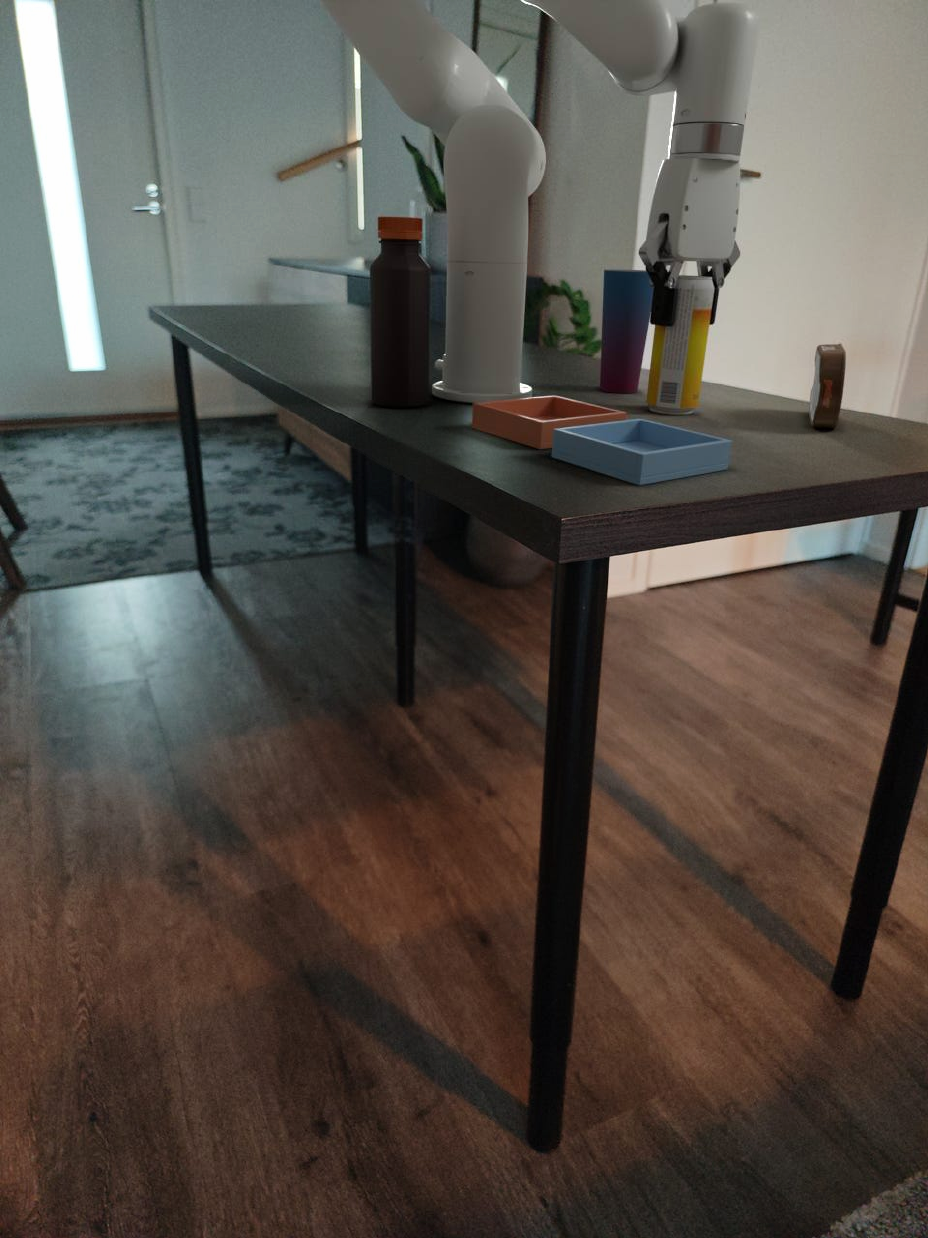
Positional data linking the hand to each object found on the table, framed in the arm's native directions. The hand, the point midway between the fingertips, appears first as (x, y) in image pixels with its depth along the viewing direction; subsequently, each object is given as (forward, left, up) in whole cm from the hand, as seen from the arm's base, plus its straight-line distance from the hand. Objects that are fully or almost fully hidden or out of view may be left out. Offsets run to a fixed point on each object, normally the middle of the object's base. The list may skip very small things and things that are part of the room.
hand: (682, 322), depth 98 cm
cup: (-14, +5, -10) cm, 18 cm away
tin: (+13, +11, -10) cm, 20 cm away
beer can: (0, 0, -10) cm, 10 cm away
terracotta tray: (+3, -22, -10) cm, 24 cm away
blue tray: (+17, -23, -10) cm, 30 cm away
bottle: (-18, -27, -10) cm, 34 cm away
